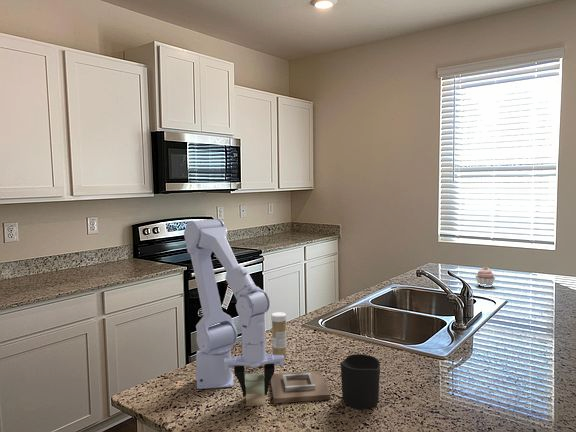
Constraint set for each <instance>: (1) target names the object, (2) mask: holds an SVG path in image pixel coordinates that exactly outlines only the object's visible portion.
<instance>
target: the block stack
mask: <svg viewBox="0 0 576 432" xmlns="http://www.w3.org/2000/svg"><path fill="white" fill-rule="evenodd" d="M245 386H246V397H245V406H246V407H248V406H249V407H250V406H251V407H253V406H264V405H266V400H265V398H266V397H265V390H264V372H257V373H256V372H255V373H245Z"/></svg>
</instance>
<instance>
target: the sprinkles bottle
mask: <svg viewBox="0 0 576 432" xmlns="http://www.w3.org/2000/svg"><path fill="white" fill-rule="evenodd" d="M271 327H272V329H271V330H272V331H271V347H272V354H271V355H283V356H284V359H285V358H286V357H287V355H288V354H287V314H286V313H285V312H283V311H282V312H281V311H276V312H272V313H271Z"/></svg>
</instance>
